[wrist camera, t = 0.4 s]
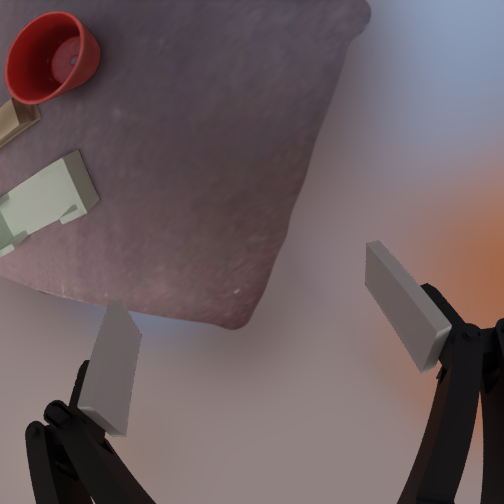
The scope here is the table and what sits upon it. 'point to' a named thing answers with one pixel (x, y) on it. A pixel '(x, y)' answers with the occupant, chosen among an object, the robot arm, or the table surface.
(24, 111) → the wooden block
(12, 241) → the green tray
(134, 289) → the table surface
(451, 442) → the robot arm
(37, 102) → the flower pot
